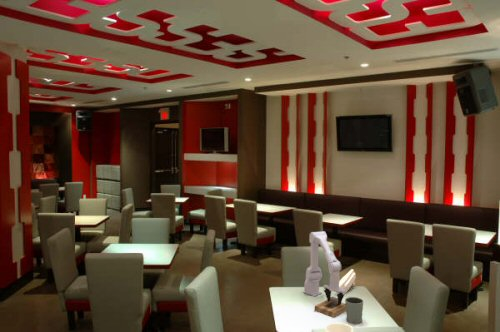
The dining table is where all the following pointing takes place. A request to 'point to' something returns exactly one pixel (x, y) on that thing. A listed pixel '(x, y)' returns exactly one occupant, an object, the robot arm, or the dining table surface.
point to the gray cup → (354, 309)
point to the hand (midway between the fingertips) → (334, 302)
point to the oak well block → (330, 312)
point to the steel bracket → (333, 302)
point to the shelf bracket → (347, 281)
